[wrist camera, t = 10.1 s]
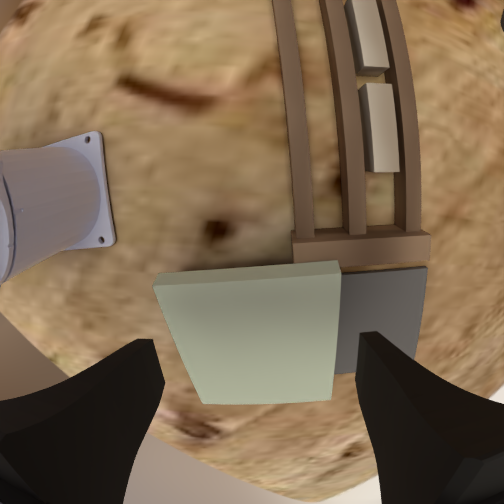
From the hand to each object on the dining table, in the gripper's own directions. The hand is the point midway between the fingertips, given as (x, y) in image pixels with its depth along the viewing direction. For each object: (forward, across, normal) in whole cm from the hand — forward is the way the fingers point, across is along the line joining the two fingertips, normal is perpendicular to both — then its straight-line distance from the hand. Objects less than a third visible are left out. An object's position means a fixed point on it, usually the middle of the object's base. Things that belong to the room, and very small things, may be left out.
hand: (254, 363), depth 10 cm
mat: (+10, -5, +5) cm, 12 cm away
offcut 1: (+11, -7, -14) cm, 19 cm away
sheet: (+8, -4, +5) cm, 10 cm away
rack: (+10, -6, -11) cm, 16 cm away
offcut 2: (+11, -7, -8) cm, 15 cm away
